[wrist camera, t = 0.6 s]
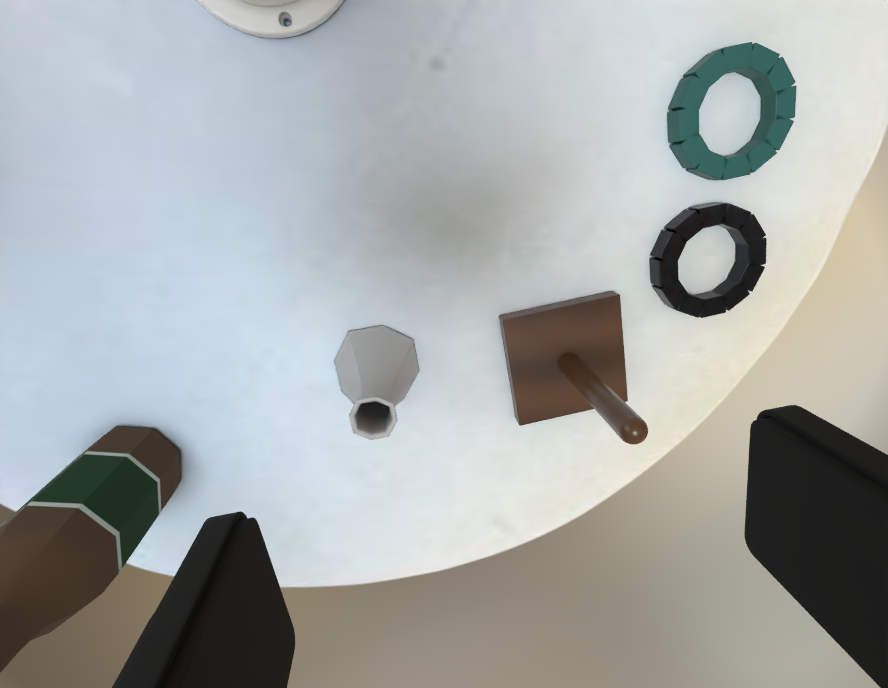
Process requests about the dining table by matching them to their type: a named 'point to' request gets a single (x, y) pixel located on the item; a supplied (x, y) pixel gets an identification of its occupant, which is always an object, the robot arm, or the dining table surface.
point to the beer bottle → (80, 532)
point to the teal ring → (775, 111)
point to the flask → (375, 377)
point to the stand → (570, 363)
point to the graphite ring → (741, 275)
